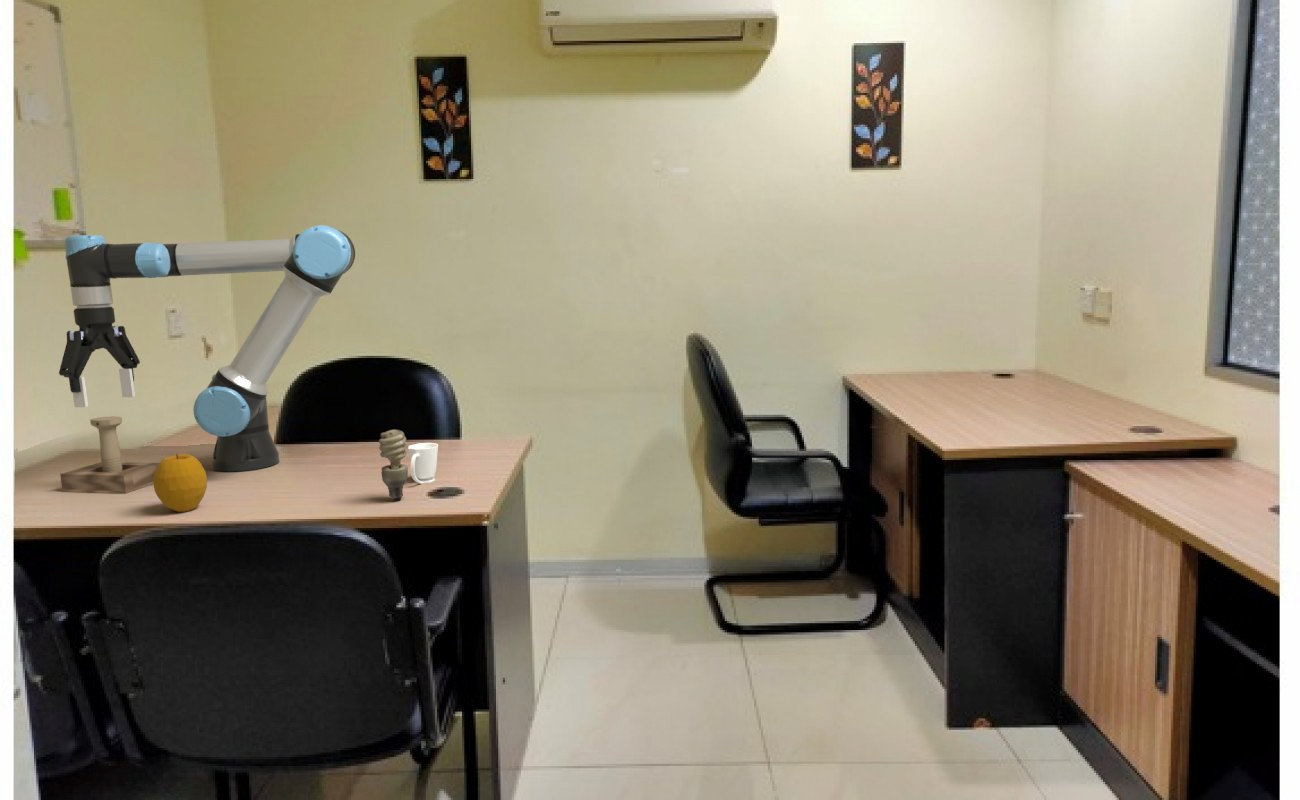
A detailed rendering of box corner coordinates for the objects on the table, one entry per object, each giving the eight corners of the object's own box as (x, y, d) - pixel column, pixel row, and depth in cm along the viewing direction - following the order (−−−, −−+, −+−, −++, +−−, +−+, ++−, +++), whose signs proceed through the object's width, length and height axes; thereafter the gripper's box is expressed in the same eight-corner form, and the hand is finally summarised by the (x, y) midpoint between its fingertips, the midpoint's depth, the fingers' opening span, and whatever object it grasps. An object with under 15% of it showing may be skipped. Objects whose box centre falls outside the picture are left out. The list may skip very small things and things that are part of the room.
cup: (446, 477, 200) (444, 442, 199) (428, 488, 190) (426, 452, 189) (417, 476, 201) (414, 442, 200) (398, 487, 192) (396, 451, 190)
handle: (117, 486, 195) (108, 420, 193) (94, 485, 197) (85, 420, 194) (134, 481, 200) (126, 416, 197) (112, 480, 201) (103, 416, 199)
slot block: (164, 479, 203) (163, 463, 202) (125, 493, 191) (123, 475, 190) (104, 478, 205) (102, 461, 205) (62, 491, 194) (60, 474, 193)
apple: (171, 503, 182) (165, 448, 180) (218, 502, 183) (213, 447, 181) (147, 517, 172) (140, 459, 171) (197, 515, 173) (191, 457, 171)
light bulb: (413, 501, 180) (409, 430, 178) (387, 505, 177) (382, 433, 175) (405, 495, 185) (400, 426, 183) (379, 499, 182) (374, 429, 180)
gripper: (121, 303, 205) (132, 393, 208) (29, 310, 180) (44, 411, 184) (149, 303, 203) (160, 392, 207) (61, 309, 179) (75, 411, 182)
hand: (106, 401), depth 195 cm, fingers open, 13 cm apart
